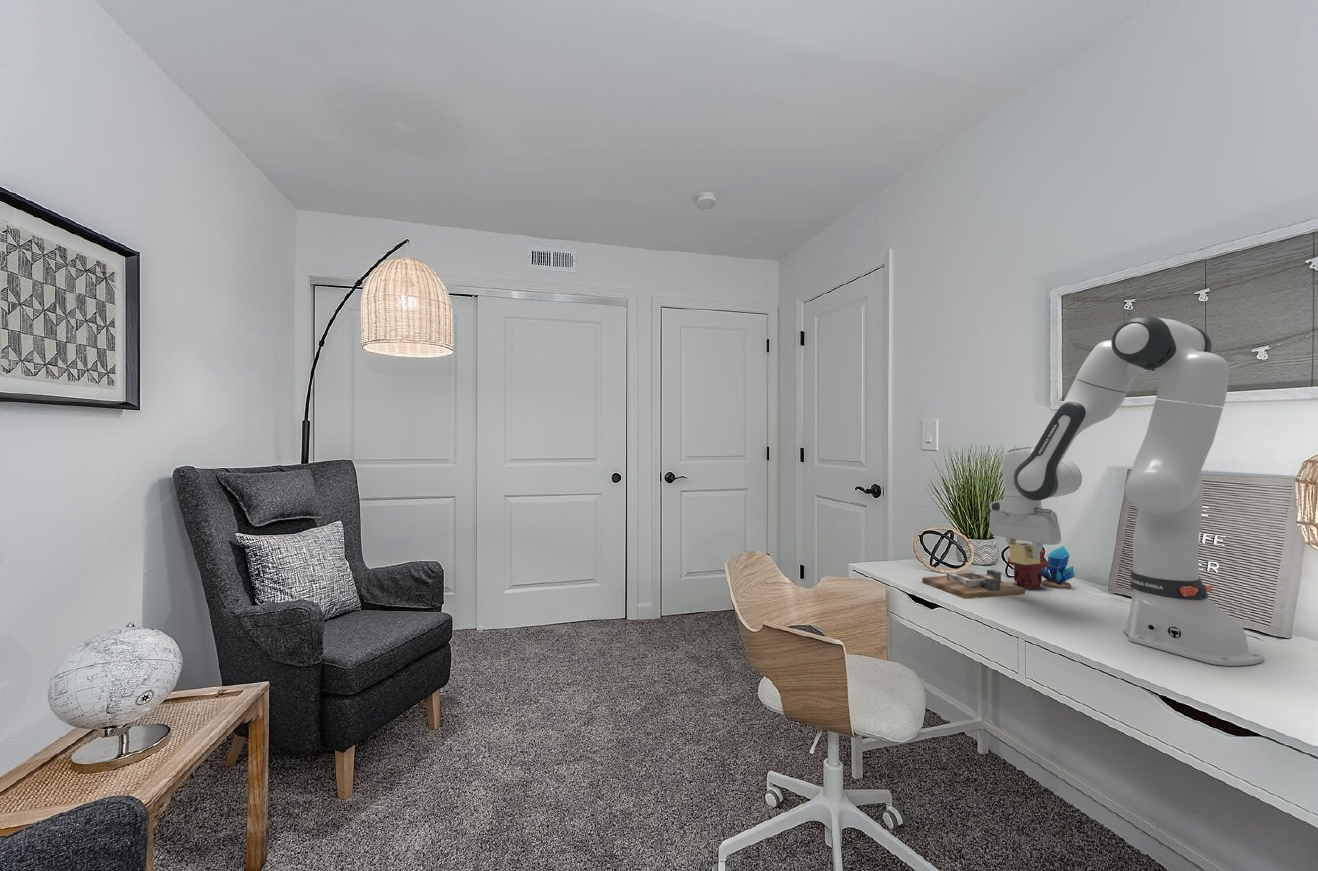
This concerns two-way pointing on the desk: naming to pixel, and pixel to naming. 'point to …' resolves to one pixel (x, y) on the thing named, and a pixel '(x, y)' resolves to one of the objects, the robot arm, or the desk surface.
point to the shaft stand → (974, 584)
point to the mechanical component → (1029, 573)
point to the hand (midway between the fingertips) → (1024, 556)
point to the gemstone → (1058, 569)
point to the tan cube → (1022, 553)
